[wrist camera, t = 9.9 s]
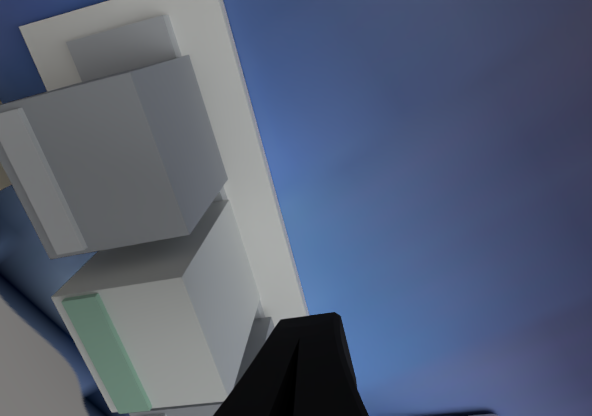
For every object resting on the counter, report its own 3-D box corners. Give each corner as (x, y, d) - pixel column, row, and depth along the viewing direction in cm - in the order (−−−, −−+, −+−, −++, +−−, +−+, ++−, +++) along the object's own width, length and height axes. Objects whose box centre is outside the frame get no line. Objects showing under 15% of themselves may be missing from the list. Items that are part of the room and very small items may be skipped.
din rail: (335, 409, 25) (331, 533, 19) (200, 422, 26) (158, 540, 20) (214, -29, 17) (143, -48, 11) (28, 26, 18) (-123, 34, 12)
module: (260, 297, 21) (228, 405, 15) (170, 310, 22) (109, 416, 16) (229, 199, 19) (179, 281, 13) (132, 217, 20) (47, 300, 14)
